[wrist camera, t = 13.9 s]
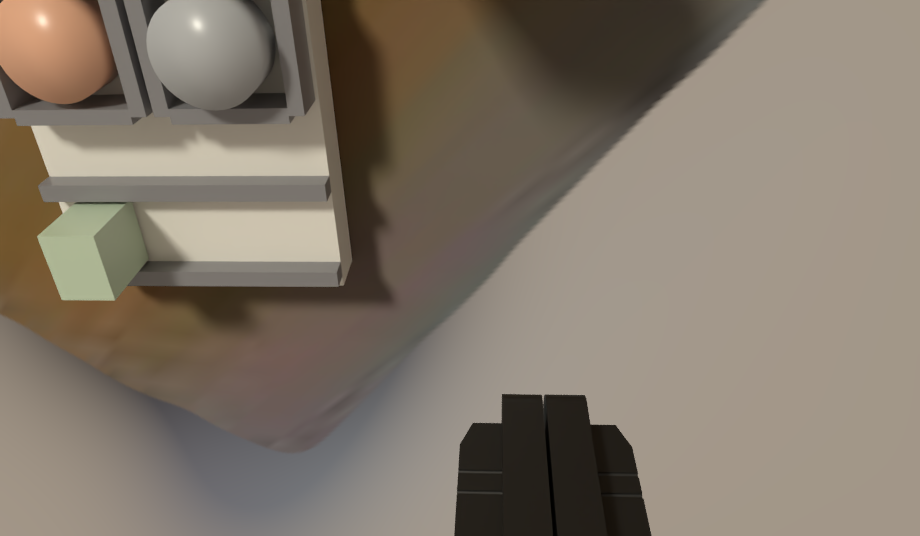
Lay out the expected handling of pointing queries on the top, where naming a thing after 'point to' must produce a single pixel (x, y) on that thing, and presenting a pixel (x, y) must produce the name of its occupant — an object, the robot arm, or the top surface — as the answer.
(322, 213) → the panel
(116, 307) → the top surface
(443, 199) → the top surface
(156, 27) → the grey button
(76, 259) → the sage slider
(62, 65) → the terracotta button
